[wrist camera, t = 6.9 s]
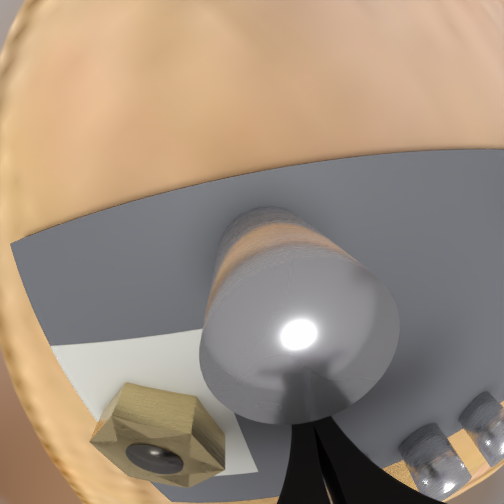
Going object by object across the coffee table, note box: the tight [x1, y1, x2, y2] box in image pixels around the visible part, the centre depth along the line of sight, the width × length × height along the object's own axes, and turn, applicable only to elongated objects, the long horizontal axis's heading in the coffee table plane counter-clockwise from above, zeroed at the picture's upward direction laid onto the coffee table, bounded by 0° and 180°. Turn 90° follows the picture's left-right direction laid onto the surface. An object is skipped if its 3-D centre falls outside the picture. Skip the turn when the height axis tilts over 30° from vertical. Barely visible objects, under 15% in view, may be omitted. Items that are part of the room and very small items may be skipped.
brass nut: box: [90, 382, 225, 488], centre depth 9 cm, size 5×6×2 cm
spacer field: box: [199, 206, 504, 504], centre depth 8 cm, size 17×16×5 cm
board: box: [10, 149, 504, 503], centre depth 11 cm, size 19×28×1 cm
